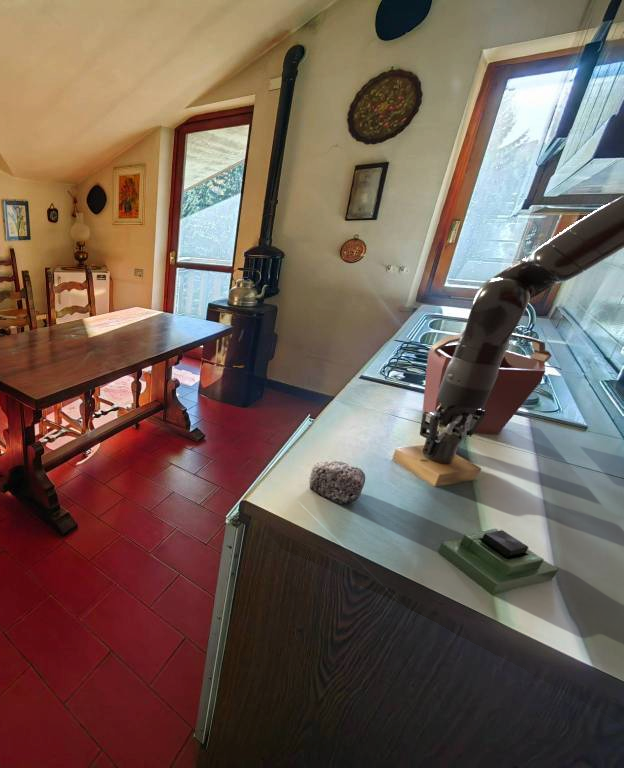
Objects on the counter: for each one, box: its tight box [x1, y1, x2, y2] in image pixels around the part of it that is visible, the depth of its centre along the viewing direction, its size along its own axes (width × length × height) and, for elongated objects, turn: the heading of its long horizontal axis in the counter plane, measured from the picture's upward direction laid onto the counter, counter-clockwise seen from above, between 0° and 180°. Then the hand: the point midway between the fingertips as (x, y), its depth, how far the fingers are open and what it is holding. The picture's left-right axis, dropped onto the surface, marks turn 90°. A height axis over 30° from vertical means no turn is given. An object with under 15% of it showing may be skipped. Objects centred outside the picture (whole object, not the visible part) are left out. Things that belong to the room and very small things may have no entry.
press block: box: [437, 528, 559, 596], centre depth 60 cm, size 12×8×4 cm, turn 103°
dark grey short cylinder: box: [423, 431, 462, 464], centre depth 83 cm, size 5×5×6 cm
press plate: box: [481, 529, 530, 559], centre depth 59 cm, size 4×4×2 cm
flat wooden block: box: [391, 444, 482, 487], centre depth 84 cm, size 11×10×3 cm
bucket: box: [422, 332, 552, 435], centre depth 102 cm, size 24×22×25 cm
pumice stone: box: [308, 460, 366, 505], centre depth 75 cm, size 10×8×10 cm
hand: (438, 453), depth 83 cm, fingers closed on dark grey short cylinder, 5 cm apart
